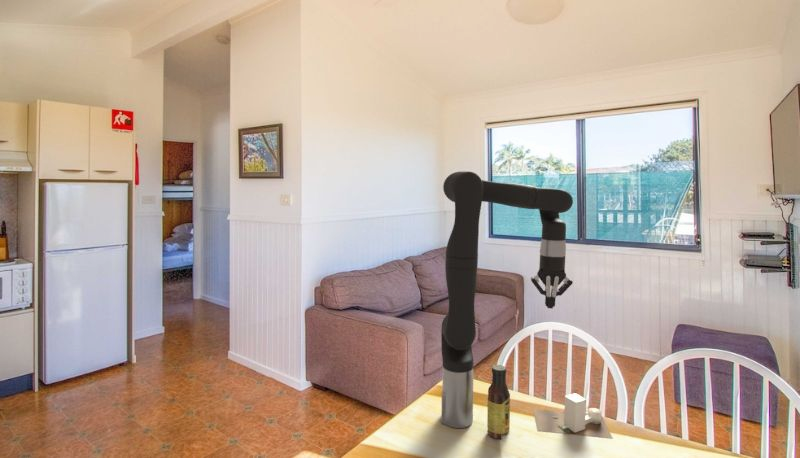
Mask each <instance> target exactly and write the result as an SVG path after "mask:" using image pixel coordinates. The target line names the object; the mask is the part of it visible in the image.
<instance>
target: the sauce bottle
mask: <svg viewBox="0 0 800 458" xmlns="http://www.w3.org/2000/svg"><path fill="white" fill-rule="evenodd" d="M491 373H492V378H491V381H492V382H491V384H490V385H489V387H488V389H487V419H486V420H487V422H486V423H487V434H488V435H489V436H490V437H492V438H493V439H496V440H502V438H503V437H502V436H506V435H508V433H509V432H510V425H511V424H510V423H511V421H510V420H511V419H510V418H511V416H510V415H511V394H510V391H509V388H508V385H507V375H506V374H507V367H506V366H505V365H502V364H494V365H492V366H491Z"/></svg>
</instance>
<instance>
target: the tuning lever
mask: <svg viewBox="0 0 800 458" xmlns="http://www.w3.org/2000/svg"><path fill="white" fill-rule="evenodd" d="M563 410H564V411H563V412H564V426H565V427H563V428H564V429H565V428H569V429H570V430H571V431H573V432H574V433H575V432H578V431H581V430H584V429H585V424H586V423H589V422H591V423H593V424H600V423H601V415H602V411H601V409H599V408H595V407H589V408H588V409H587V399H586V398H585V397H584V396H581V395H580V394H578V393H576V392H575V393H572V394H568V395H565V396H564V409H563ZM586 414H588V415H586Z"/></svg>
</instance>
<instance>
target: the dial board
mask: <svg viewBox="0 0 800 458" xmlns="http://www.w3.org/2000/svg"><path fill="white" fill-rule="evenodd" d="M532 411H533V414H534V419H535V420H534V421H535V425H536V430H537V432H542V433H543V432H545V433H554V434H564V435H572V436H573V435H574V436H582V437H583V436H584V437H593V438H603V439H604V438H605V439H610V440H611V439H613V436H612V434H611V432H610V429H609V428H608V425H607V424H606V421H605V420H604V417H603V415H602V414H601V423H600V424H593V423H591V422H589V423H586V424H585V429H584V430H581V431H578V432H575V433H574V432H573V431H571V430H570V429H569V428H565V429H564V428H563V427H565V426H564V411H560V410H550V409H548V410H546V409H540V408H539V409H538V408H537V409H536V408H533V410H532ZM586 415H588V413H586Z"/></svg>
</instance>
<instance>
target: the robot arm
mask: <svg viewBox="0 0 800 458" xmlns="http://www.w3.org/2000/svg"><path fill="white" fill-rule="evenodd" d="M442 188H443V193H444V196H445V197H446V198H447V199H448V200H449V201H451V202H453V203H454V222H453V226H452V230H451V232H450V236H449V238H448V241H447V245H446V248H445V269H444V270H445V283H446V288H447V294H448V296H447V297H448V312H447V314H446V316H444V318H443V319H442V322H441V328H440V329H441V336H440V337H441V340H440V341H441V358H442V390H441V424H442V425H443V424H444V425H446V426H448V427H450V428H455V429H465V428H467V427H468V428H469V426H471V425H472V424H473V423H474V421H473V420H474V355H473V347H472V345H473V344H474V342H475V338H476V336H477V330H476V316H475V314H476V313H475V312H476V311H475V299H476V298H475V296H476V288H477V277H478V276H477V275H478V262H479V229H480V218H481V217H480V216H481V209H482V203H484V202H485V203H492V204H499V205H503V206H509V207H511V208H519V209H525V210H538V211H539V217H540V221H541V225H542V226H541V241H540V249H539V266H538V267H539V269H538V271H537V273H536V275H534V276H531V277H530V281H531V283H532V284H533V285H534V287H535V288H536V289H537V291H538V292H539V293H540V295H543V296H545V298H544V304H545V306H546V308H547V309H553V308H554V307H555V306H556V299H557V298H556V297H558V296H559V297H560V296H562V295H563V294H565V292H566V291H567V290H568V289H569V288H570V286H572V285H573V284H574V283H573V280H572V279H571V278H569V277H568V276H567V273H566V270H565V269H566V253H567V252H566V251H567V245H566V243H567V242H566V240H567V239H566V238H567V237H566V236H567V224H566V223H565V222H564V221H563V220H561V218H560V215H559V214H561V213H562V214H564V213H566V212H568V211H569V210H570V209H571V208H572V207H573V204H574V203H573V202H574V199H573V196H572V195H571V193H570V192H569V191H566V190H564V189H557V188H556V189H555V188H547V187H545V188H544V187H539V186H535V185H528V184H523V183H522V184H521V183H515V182H514V183H512V182H499V181H489V180H485V179H482V178H481V176H480V175H479V174H477V173H476V172H475V171H467V170H466V171H465V170H464V171H463V170H462V171H456V172H452V173H451V174H449V175H447V177H446V178H445V180H444V181H443V186H442ZM540 281H541V283H543V285H544V289H543V287H542V286H541V285H540V283H539V282H540ZM562 282H563V284H562V285H561V283H562ZM560 285H561V286H560ZM559 286H560V287H559ZM558 287H559V288H558Z"/></svg>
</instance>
